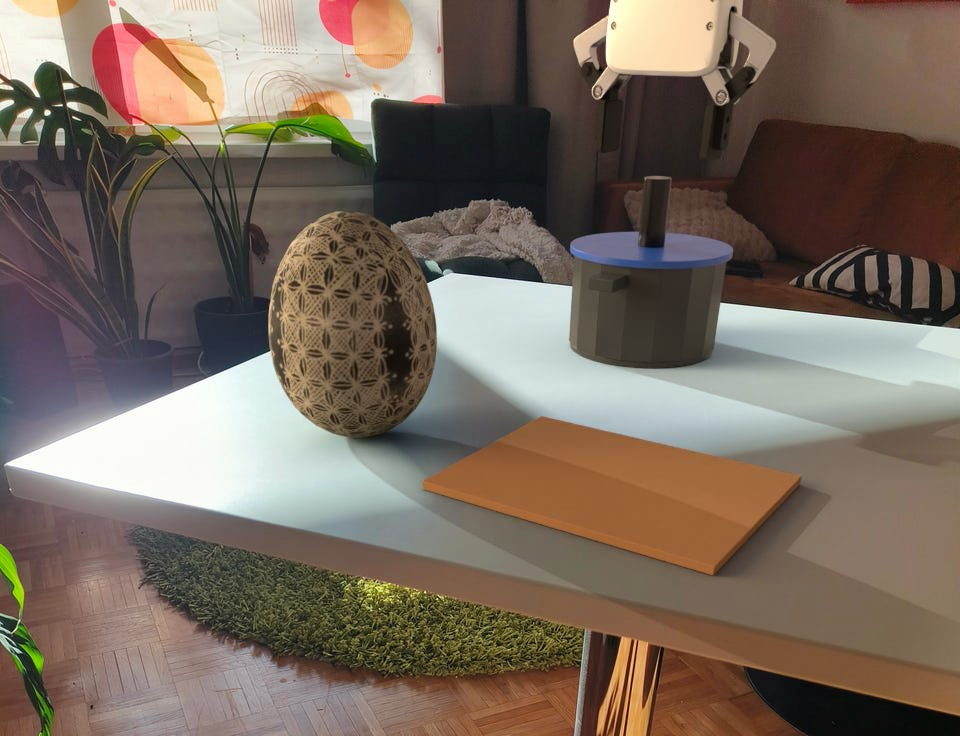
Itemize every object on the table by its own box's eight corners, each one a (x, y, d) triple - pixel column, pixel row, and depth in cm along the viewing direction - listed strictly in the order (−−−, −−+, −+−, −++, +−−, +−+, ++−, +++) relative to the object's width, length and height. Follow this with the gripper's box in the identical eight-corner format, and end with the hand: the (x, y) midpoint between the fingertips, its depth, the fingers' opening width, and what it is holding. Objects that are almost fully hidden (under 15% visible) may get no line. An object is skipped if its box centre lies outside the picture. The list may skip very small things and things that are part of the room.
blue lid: (754, 256, 83) (767, 175, 79) (692, 284, 73) (704, 193, 69) (614, 239, 90) (620, 164, 86) (540, 263, 80) (543, 179, 76)
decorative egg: (254, 426, 67) (224, 208, 59) (387, 397, 73) (376, 194, 65) (327, 476, 60) (303, 233, 51) (470, 439, 65) (469, 215, 57)
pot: (743, 336, 89) (758, 245, 84) (663, 385, 76) (676, 280, 71) (621, 316, 96) (629, 230, 91) (528, 358, 82) (532, 260, 78)
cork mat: (800, 484, 59) (802, 475, 59) (713, 576, 49) (715, 566, 48) (541, 423, 68) (541, 415, 68) (422, 489, 58) (422, 480, 58)
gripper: (814, -101, 66) (769, 160, 76) (607, -89, 74) (589, 146, 83) (781, -115, 61) (737, 167, 70) (562, -100, 69) (549, 152, 78)
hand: (657, 155), depth 77 cm, fingers open, 9 cm apart
